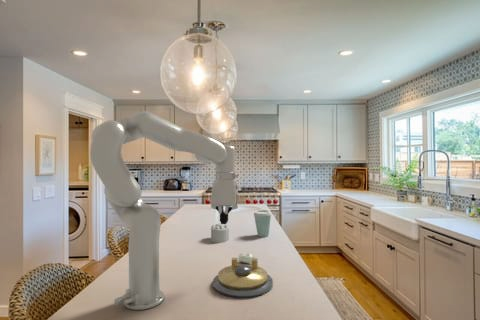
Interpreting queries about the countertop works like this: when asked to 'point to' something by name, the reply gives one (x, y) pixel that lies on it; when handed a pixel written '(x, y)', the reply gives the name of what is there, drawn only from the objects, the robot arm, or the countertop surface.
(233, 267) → the lugged brass disc
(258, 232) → the disposable coffee cup
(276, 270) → the countertop surface
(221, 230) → the lumpy-topped squat cylinder
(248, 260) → the pipe fitting
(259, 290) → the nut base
